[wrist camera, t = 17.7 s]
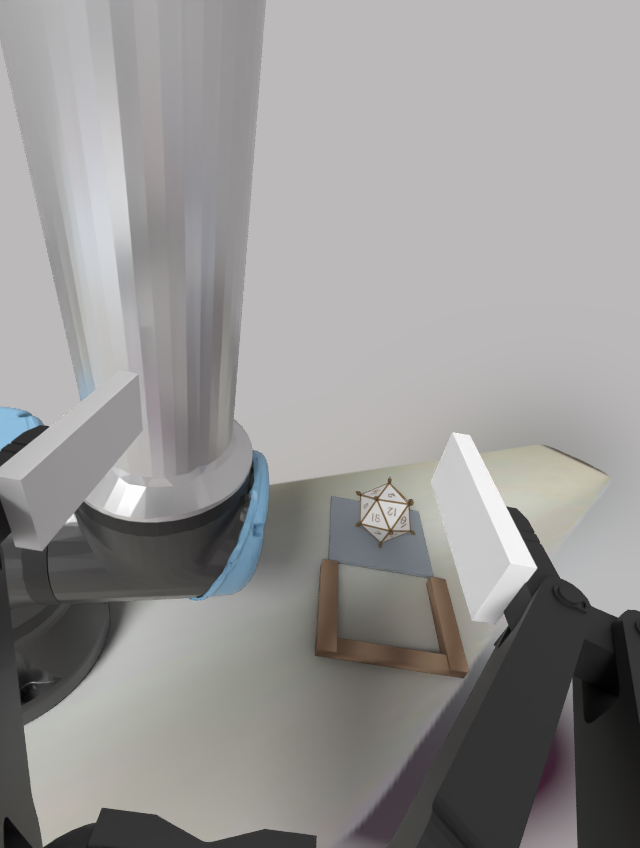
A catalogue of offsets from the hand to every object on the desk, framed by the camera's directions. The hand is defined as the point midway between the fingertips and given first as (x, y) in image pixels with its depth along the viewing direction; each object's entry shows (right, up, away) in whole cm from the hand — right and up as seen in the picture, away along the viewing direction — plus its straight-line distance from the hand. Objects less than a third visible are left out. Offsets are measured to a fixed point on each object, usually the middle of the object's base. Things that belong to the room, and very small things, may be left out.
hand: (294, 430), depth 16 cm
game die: (+9, -16, +39) cm, 43 cm away
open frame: (+9, -22, +29) cm, 37 cm away
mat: (+9, -16, +39) cm, 43 cm away
